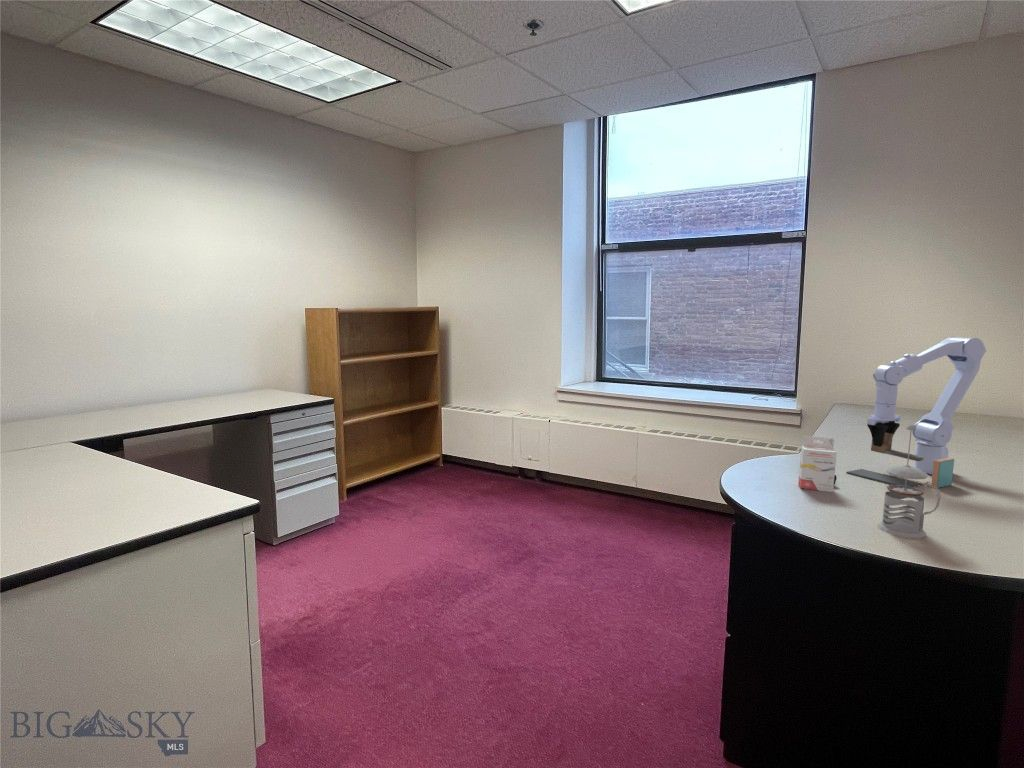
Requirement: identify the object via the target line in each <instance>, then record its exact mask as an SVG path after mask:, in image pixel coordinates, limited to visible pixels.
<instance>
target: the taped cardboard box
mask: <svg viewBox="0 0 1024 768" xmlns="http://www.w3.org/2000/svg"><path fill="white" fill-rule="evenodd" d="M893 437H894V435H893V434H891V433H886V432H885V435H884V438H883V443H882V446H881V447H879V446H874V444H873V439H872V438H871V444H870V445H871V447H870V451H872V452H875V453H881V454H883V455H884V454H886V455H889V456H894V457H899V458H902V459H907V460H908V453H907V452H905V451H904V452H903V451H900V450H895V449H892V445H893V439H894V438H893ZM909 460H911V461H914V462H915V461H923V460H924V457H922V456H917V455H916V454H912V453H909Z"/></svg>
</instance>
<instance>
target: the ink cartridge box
mask: <svg viewBox="0 0 1024 768" xmlns="http://www.w3.org/2000/svg"><path fill="white" fill-rule="evenodd" d="M814 441H819V442H814ZM821 442H822V443H821ZM834 442H835V439H834V438H833V437H824V436H823V437H821V436H810V435H809V436H807V435H804V436H803V437H802V445H801V448H800V449H801V450H800V451H801V452H800V463H799V472H798V473H799V474H798V482H797V483H798V487H799V488H800V489H801V488H804V489H803V490H809V489H811V490H810V491H818V490H819V491H821V492H828V493H833V492H834V485H835V484H834V476H835V475H836V474H835V473H836V463H837V451H836V450H835V449H834V444H835V443H834Z"/></svg>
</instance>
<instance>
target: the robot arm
mask: <svg viewBox="0 0 1024 768" xmlns="http://www.w3.org/2000/svg"><path fill="white" fill-rule="evenodd" d="M986 352H987V349H986V346H985V344H984V341H982V339H981V338H978V337H957V336H950V337H948V338H946V339H942V340H941V341H940V342H939V343H937V344H935V345H933V346H931V347H929V348H927V349H925V350H924V351H922V352H920V353H919V354H913V353H905V354H903V357H900V358H899V359H897V360H894V361H893V360H892V361H890V362H889V364H887V365H886V364H881V365H879V366H878V367H876V369H875V370H874V372H873V373H872V378H873V380H874V381H875V395H874V396H875V397H874V411H873V414H870V415H869V417H868V418H867V420H866V426H867V428H868V429H869V431H870V435H871V440H872V439H873V444H874V446H879V447H881V446H882V443H883V438H884V435H885V432H886V433H891V434H893V436H895V433H896V431H897V430H898V429H899V427H900V425H901V424H900V423H899V422H901V415H897V414H896V410H897V409H896V408H897V401H898V400H897V398H898V397H897V396H898V386H899V384H901V383H902V381H903V380H904V378H906V377H909V376H910V375H913V374H915V373H917V372H919V371H921V370H922V369H923V367H924V365H925V364H928V363H931V362H932V361H936V360H938V359H940V358H943V357H945V356H946V357H947V358H948V359H949V361H950V362H951V363H952V364H953V365H954V368H955V370H954V372H953V373H952V376H951V377H950V379H949V381H948V382H947V383H946V386H945V387H944V389H943V390H942V393H941V394H940V396H939V398H938V399H937V401H936V402H935V405H933V408H932V410H931V412H929V413H926V414H923V415H922V416H921V418H920V419H919V420H918V421H917V422H916V423H915V424H913V425H914V426H916V430H912V432H911V434H912V435H913V437H914V438H915V442H916V447H915V455H917V456H922V457H924V460H923V461H914V466H913V467H916V468H918V469H920V470H921V471H923V472H925V473H926V474H928V475H932V473H933V463H934V460H939V459H944V458H949V448H948V447H947V444H948V443H949V442H950V441H951V439H952V433H953V430H954V428H955V426H954V424H953V422H952V420H951V419H952V418H953V417H954V414H955V413H956V411H957V409H958V408H959V405H960V404H961V403H962V400H963V399H964V397H965V395H966V393H967V392H968V391H969V389H970V387H971V385H972V383H973V382H974V380H975V378H976V376H978V373H979V372H980V367H981V361H982V358H983V357H984V355H985V354H986Z"/></svg>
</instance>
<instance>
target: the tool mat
mask: <svg viewBox="0 0 1024 768" xmlns="http://www.w3.org/2000/svg"><path fill="white" fill-rule="evenodd" d="M845 473H846V474H847V473H848V475H851V474H852V475H853V476H856V477H860V478H863V479H867V480H871V481H875V480H876V481H875V482H879V483H883V482H884V483H883V484H886V483H888V485H890V484H892V485H899V486H900V485H902V486H903V485H904V486H905V481H906V478H901V477H896V476H893V475H890V474H884V473H880V472H876V471H873V470H868V469H863V468H859V469H855V470H849V471H846V472H845ZM918 485H920V486H922V485H923V483H921V482H917V481H915V480H914V481H913V480H911V479H907V482H906V486H907V487H908V486H909V487H912V488H915V487H914V486H916V487H919V486H918Z"/></svg>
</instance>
